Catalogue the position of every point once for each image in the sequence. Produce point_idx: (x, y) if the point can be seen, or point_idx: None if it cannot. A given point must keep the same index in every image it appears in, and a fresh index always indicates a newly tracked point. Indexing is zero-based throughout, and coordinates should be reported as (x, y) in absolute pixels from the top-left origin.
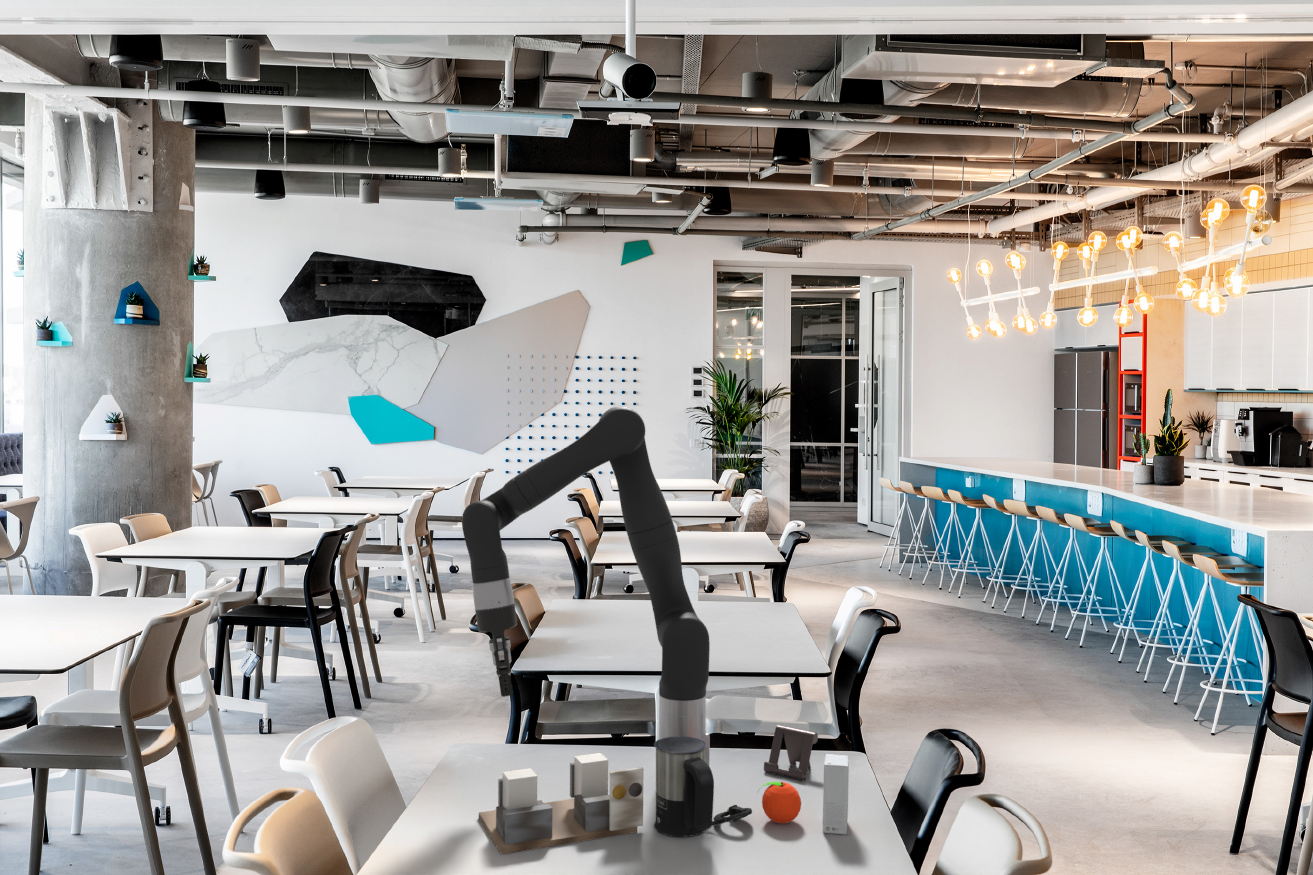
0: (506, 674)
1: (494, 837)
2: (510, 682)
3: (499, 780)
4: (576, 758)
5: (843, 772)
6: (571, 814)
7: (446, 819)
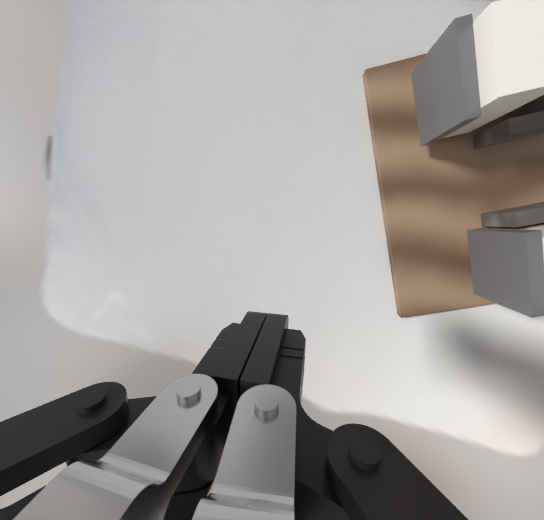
0: (325, 436)
1: None
2: (278, 353)
3: (542, 315)
4: (519, 92)
5: None
6: (456, 152)
7: (390, 362)
